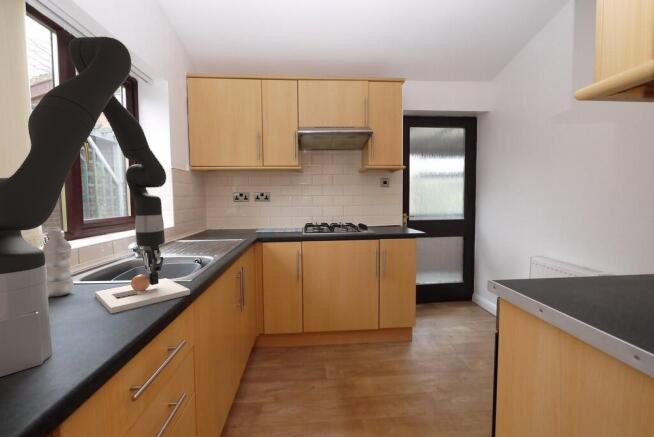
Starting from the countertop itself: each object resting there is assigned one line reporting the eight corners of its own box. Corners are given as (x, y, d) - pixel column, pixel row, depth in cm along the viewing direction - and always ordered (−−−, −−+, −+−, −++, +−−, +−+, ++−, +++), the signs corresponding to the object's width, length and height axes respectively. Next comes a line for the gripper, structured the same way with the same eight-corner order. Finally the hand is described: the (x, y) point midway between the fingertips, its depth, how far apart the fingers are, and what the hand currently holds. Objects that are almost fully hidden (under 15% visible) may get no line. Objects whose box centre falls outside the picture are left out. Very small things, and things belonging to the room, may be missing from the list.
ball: (153, 275, 90) (134, 275, 86) (151, 291, 89) (131, 292, 86) (148, 273, 93) (130, 273, 90) (146, 289, 93) (128, 290, 89)
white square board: (190, 294, 90) (189, 289, 90) (111, 313, 76) (111, 307, 75) (166, 282, 104) (165, 278, 104) (95, 296, 89) (95, 291, 89)
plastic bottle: (41, 297, 89) (36, 231, 88) (68, 290, 95) (64, 229, 94) (50, 300, 86) (45, 232, 85) (78, 293, 92) (74, 230, 91)
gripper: (171, 229, 89) (174, 285, 90) (156, 226, 98) (159, 277, 99) (143, 232, 83) (147, 291, 85) (130, 229, 92) (134, 282, 94)
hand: (154, 284), depth 92 cm, fingers closed
